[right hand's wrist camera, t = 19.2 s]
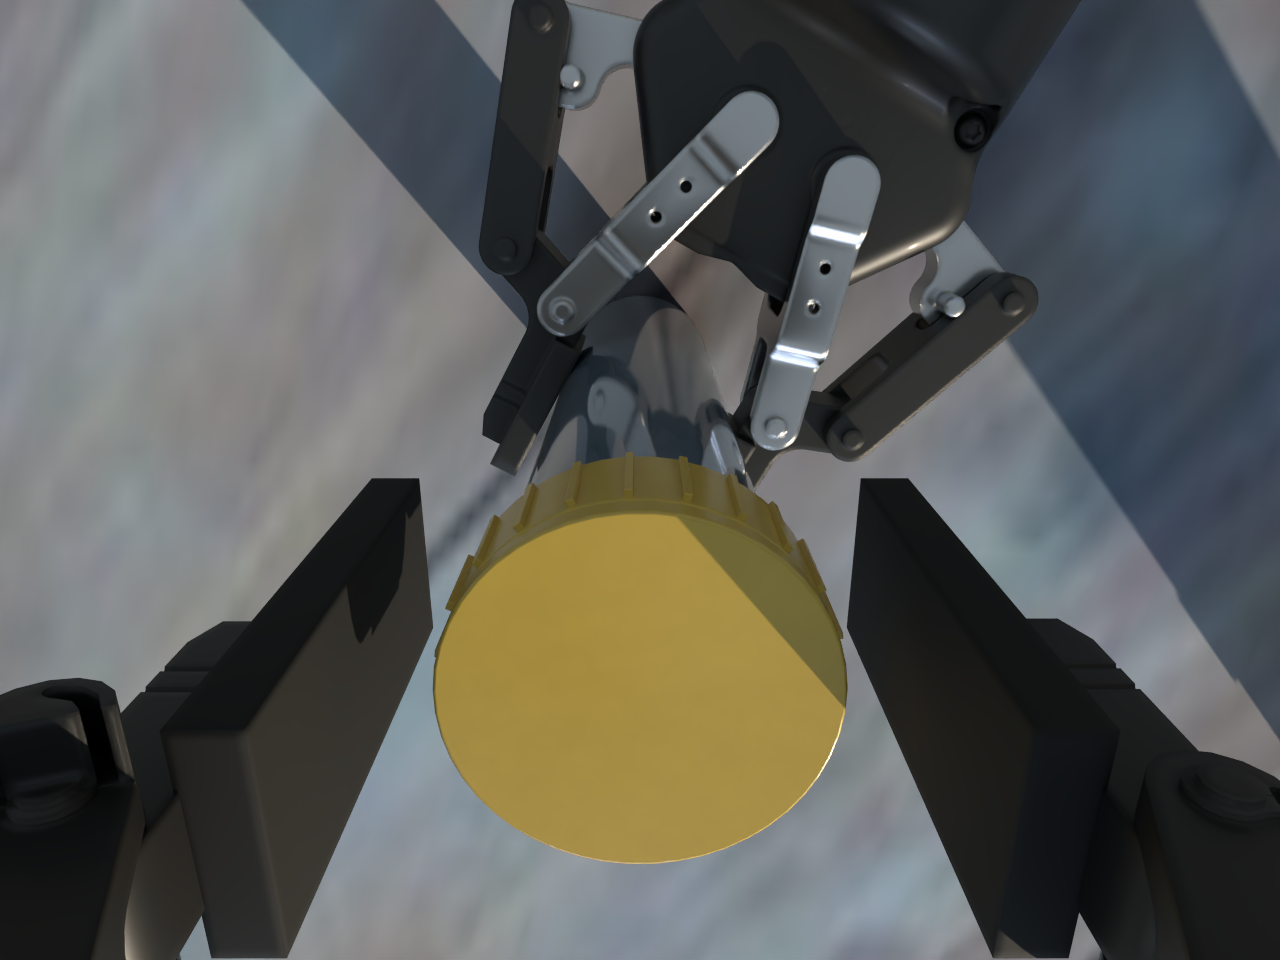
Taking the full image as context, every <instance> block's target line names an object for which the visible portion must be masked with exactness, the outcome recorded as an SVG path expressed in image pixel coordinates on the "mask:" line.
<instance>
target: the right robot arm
mask: <svg viewBox="0 0 1280 960" xmlns="http://www.w3.org/2000/svg"><path fill="white" fill-rule="evenodd" d="M432 629H433V621H432V610H431V600H430V589H429V578H428V568H427V557H426V546H425V536H424V525H423V515H422V504H421V493H420V483H419V478H372V479H371V480H370V481H369V483H368V484H367V485H366V486H365V487H364V488H363V490H362V491H361V492H360V493H359V494H358V496H357V497H356V498H355V499H354V500H353V502H352V503H351V504H350V505H349V506H348V507H347V509H346V510H345V511H344V512H343V513H342V515H341V516H340V517H339V518H338V519H337V521H336V522H335V523H334V524H333V525H332V526H331V528H330V529H329V530H328V531H327V532H326V534H325V535H324V536H323V537H322V538H321V540H320V541H319V542H318V543H317V544H316V545H315V547H314V548H313V549H312V550H311V551H310V553H309V554H308V555H307V556H306V557H305V559H304V560H303V561H302V562H301V563H300V564H299V566H298V567H297V568H296V569H295V570H294V572H293V573H292V574H291V575H290V576H289V578H288V579H287V580H286V581H285V582H284V583H283V585H282V586H281V587H280V588H279V589H278V591H277V592H276V593H275V594H274V595H273V597H272V598H271V599H270V600H269V601H268V602H267V604H266V605H265V606H264V607H263V608H262V610H261V611H260V612H259V613H258V614H257V616H256V617H255V618H254V619H253V620H252V621H223V622H221V623H220V624H218V625H216V626H215V627H213V628H211V629H209V630H208V631H206V632H204V633H203V634H201V635H199V636H197V637H196V638H194V639H192V640H191V641H189V642H187V643H186V645H185V646H184V647H183V648H182V649H181V650H180V651H179V652H178V653H177V654H176V655H175V656H174V657H173V658H172V659H171V661H170V662H169V663H168V664H167V665H166V666H165V670H164V671H160V672H159V673H158V674H157V675H156V676H155V678H154V679H153V680H152V681H151V682H150V683H149V684H148V685H147V686H146V691H145V692H140V694H139V695H138V696H137V697H136V698H135V699H134V700H133V701H132V702H131V703H130V704H129V705H128V706H127V707H126V708H125V710H124V711H123V712H122V713H120V709H119V705H118V701H117V697H116V693H115V690H113V689H112V688H111V687H109V686H108V685H106V684H105V683H103V682H102V681H96V680H89V679H83V678H71V679H60V680H48V681H44V682H40V683H36V684H32V685H29V686H25V687H21V688H17V689H14V690H11V691H9V692H6V693H4V694H2V695H0V960H181V957H180V952H181V950H182V948H183V946H184V945H185V943H186V941H187V939H188V938H189V936H190V934H191V933H192V931H193V929H194V927H195V926H196V924H197V922H198V921H199V919H200V917H201V915H202V919H203V923H204V928H205V932H206V936H207V941H208V945H209V949H210V954H211V958H287V957H288V955H289V952H290V950H291V948H292V945H293V943H294V941H295V939H296V936H297V934H298V932H299V930H300V927H301V925H302V923H303V921H304V918H305V916H306V914H307V912H308V909H309V907H310V905H311V903H312V900H313V898H314V896H315V893H316V891H317V889H318V887H319V884H320V882H321V880H322V878H323V875H324V873H325V871H326V869H327V866H328V864H329V862H330V860H331V857H332V855H333V853H334V851H335V848H336V846H337V844H338V842H339V839H340V837H341V835H342V832H343V830H344V828H345V826H346V823H347V821H348V819H349V817H350V814H351V812H352V810H353V808H354V805H355V803H356V801H357V799H358V796H359V794H360V792H361V790H362V787H363V785H364V783H365V780H366V778H367V776H368V774H369V771H370V769H371V767H372V765H373V762H374V760H375V758H376V756H377V753H378V751H379V749H380V747H381V744H382V742H383V740H384V738H385V735H386V733H387V731H388V729H389V726H390V724H391V722H392V719H393V717H394V715H395V713H396V710H397V708H398V706H399V704H400V701H401V699H402V697H403V695H404V692H405V690H406V688H407V686H408V683H409V681H410V679H411V677H412V674H413V672H414V670H415V667H416V665H417V663H418V661H419V658H420V656H421V654H422V652H423V649H424V647H425V645H426V643H427V640H428V638H429V636H430V634H431V631H432ZM847 629H848V631H849V634H850V636H851V638H852V640H853V643H854V645H855V647H856V649H857V652H858V654H859V656H860V658H861V661H862V663H863V665H864V667H865V670H866V672H867V674H868V677H869V679H870V681H871V683H872V686H873V688H874V690H875V692H876V695H877V697H878V699H879V701H880V704H881V706H882V708H883V710H884V713H885V715H886V717H887V719H888V722H889V724H890V726H891V729H892V731H893V733H894V735H895V738H896V740H897V742H898V744H899V747H900V749H901V751H902V753H903V756H904V758H905V760H906V762H907V765H908V767H909V769H910V771H911V774H912V776H913V778H914V780H915V783H916V785H917V787H918V790H919V792H920V794H921V796H922V799H923V801H924V803H925V805H926V808H927V810H928V812H929V814H930V817H931V819H932V821H933V823H934V826H935V828H936V830H937V832H938V835H939V837H940V839H941V842H942V844H943V846H944V848H945V851H946V853H947V855H948V857H949V860H950V862H951V864H952V866H953V869H954V871H955V873H956V875H957V878H958V880H959V882H960V884H961V887H962V889H963V891H964V893H965V896H966V898H967V900H968V903H969V905H970V907H971V909H972V912H973V914H974V916H975V918H976V921H977V923H978V925H979V927H980V930H981V932H982V934H983V936H984V939H985V941H986V943H987V945H988V948H989V950H990V952H991V955H992V957H993V958H1069V954H1070V949H1071V945H1072V941H1073V936H1074V932H1075V928H1076V923H1077V919H1078V915H1079V913H1080V914H1081V916H1082V918H1083V920H1084V921H1085V923H1086V925H1087V926H1088V928H1089V930H1090V931H1091V933H1092V935H1093V937H1094V938H1095V940H1096V942H1097V943H1098V945H1099V947H1100V949H1101V953H1100V957H1099V960H1280V780H1278V779H1277V778H1276V777H1274V776H1272V775H1270V774H1268V773H1266V772H1264V771H1262V770H1260V769H1257V768H1255V767H1253V766H1251V765H1249V764H1247V763H1245V762H1243V761H1239V760H1236V759H1232V758H1229V757H1225V756H1222V755H1218V754H1215V753H1211V752H1201V751H1198V750H1197V749H1196V748H1195V747H1194V746H1193V745H1192V744H1191V743H1190V741H1189V740H1188V739H1187V738H1186V737H1185V736H1184V735H1183V734H1182V733H1181V732H1180V731H1179V730H1178V729H1177V728H1176V727H1175V726H1174V725H1173V723H1172V722H1171V721H1170V720H1169V719H1168V718H1167V717H1166V716H1165V715H1164V714H1163V713H1162V712H1161V711H1160V710H1159V709H1158V708H1157V707H1156V705H1155V704H1154V703H1153V702H1152V701H1151V700H1150V699H1149V698H1148V697H1147V696H1146V695H1145V694H1144V693H1143V692H1142V691H1141V690H1140V689H1135V683H1134V682H1133V681H1132V680H1131V679H1130V678H1129V677H1128V676H1127V675H1126V674H1125V673H1124V672H1123V671H1122V670H1121V668H1116V663H1115V662H1114V661H1113V660H1112V659H1111V658H1110V657H1109V656H1108V655H1107V654H1106V653H1105V652H1104V650H1103V649H1102V648H1101V647H1100V646H1099V645H1098V644H1097V643H1096V642H1095V641H1094V640H1093V639H1092V638H1090V637H1088V636H1086V635H1085V634H1083V633H1081V632H1079V631H1078V630H1076V629H1074V628H1073V627H1071V626H1069V625H1067V624H1066V623H1064V622H1062V621H1061V620H1059V619H1026V618H1025V617H1024V616H1023V614H1022V613H1021V612H1020V611H1019V610H1018V608H1017V607H1016V606H1015V605H1014V604H1013V602H1012V601H1011V600H1010V599H1009V598H1008V597H1007V595H1006V594H1005V593H1004V592H1003V591H1002V589H1001V588H1000V587H999V586H998V585H997V583H996V582H995V581H994V580H993V579H992V578H991V576H990V575H989V574H988V573H987V572H986V570H985V569H984V568H983V567H982V566H981V564H980V563H979V562H978V561H977V560H976V559H975V557H974V556H973V555H972V554H971V553H970V551H969V550H968V549H967V548H966V547H965V545H964V544H963V543H962V542H961V541H960V540H959V538H958V537H957V536H956V535H955V534H954V532H953V531H952V530H951V529H950V528H949V526H948V525H947V524H946V523H945V522H944V521H943V519H942V518H941V517H940V516H939V515H938V513H937V512H936V511H935V510H934V509H933V507H932V506H931V505H930V504H929V503H928V502H927V500H926V499H925V498H924V497H923V496H922V494H921V493H920V492H919V491H918V490H917V488H916V487H915V486H914V485H913V484H912V483H911V481H910V480H909V479H908V478H861V483H860V493H859V504H858V515H857V525H856V536H855V546H854V557H853V568H852V578H851V589H850V600H849V610H848V621H847Z"/></svg>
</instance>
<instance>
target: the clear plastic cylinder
mask: <svg viewBox="0 0 1280 960" xmlns="http://www.w3.org/2000/svg"><path fill="white" fill-rule="evenodd" d="M582 334H583V335H585V336H586V338H585V342H584V345H583V348H582V351H581V354H580V356H579V358H578V360H577V362H576V364H575V365H574V367H573V369H572V371H571V373H570V375H569V377H568V378H567V380H566V381H565V383H564V385H563V387H562V389H561V391H560V393H559V396H558V399H557V401H556V404H555V407H554V410H553V413H552V416H551V419H550V422H549V425H548V427H547V430H546V433H545V436H544V439H543V442H542V445H541V448H540V451H539V453H538V456H537V459H536V462H535V465H534V468H533V471H532V474H531V477H530V479H529V482H528V485H529V484H531V483H534V484H535V486H537V485H539V484H540V483H542V482H544V481H546V480H548V479H549V478H551V477H553V476H555V475H557V474H559V473H562V472H564V471H567V470H569V469H572V466H573V463H575V462H578V461H581V463H582V465H584V464H588V463H592V462H595V461H599V460H604V459H612V458H620V457H625V453H626V452H634V457H645V456H652V457H660V458H669V459H677V460H678V459H679V456H683V457H687V459H688V462H689V463H693V464H697V465H701V466H703V467H706V468H708V469H711V470H713V471H716V472H719V473H721V474H724V475H725V476H728V475H729V473H732V474H734V475H736V476H737V479H738V482H739V483H740V484H742V485H744V486H745V487H747V488H748V489H749V490H751V491H752V492H753V493H755V491H754V488H753V485H752V482H751V479H750V476H749V473H748V470H747V468H746V465H745V462H744V459H743V456H742V453H741V450H740V447H739V444H738V442H737V439H736V436H735V433H734V430H733V427H732V424H731V421H730V418H729V416H728V413H727V410H726V407H725V404H724V401H723V398H722V395H721V392H720V390H719V387H718V384H717V381H716V378H715V375H714V372H713V369H712V366H711V364H710V361H709V358H708V355H707V352H706V349H705V346H704V343H703V340H702V338H701V335H700V333H699V331H698V329H697V327H696V326H695V324H694V323H693V321H692V320H691V319H690V318H689V317H688V316H687V314H685V313H684V312H683V311H682V310H681V309H679V308H678V307H676V306H675V305H673V304H671V303H669V302H667V301H665V300H662V299H659V298H656V297H651V296H629V297H625V298H621V299H618V300H615V301H613V302H611V303H609V304H607V305H605V306H604V307H603V308H602V309H601V310H600V311H599V312H598V313H597V314H596V315H595V316H594V317H593V318H592V319H591V320H590V321H589V322H588V324H587V326H586V327H585V329H584V331H583V333H582ZM528 485H527V486H528Z"/></svg>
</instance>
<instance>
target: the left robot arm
mask: <svg viewBox="0 0 1280 960" xmlns="http://www.w3.org/2000/svg"><path fill="white" fill-rule="evenodd" d="M1080 1H1081V0H662V1H661V2H659V3H658V4H657V5H655V6H654V7H653V8H652V9H651V10H650V11H649V12H648V14H647V15H646V16H645V18H644V19H643V20H640V19H636V18H632V17H627V16H623V15H619V14H615V13H610V12H606V11H602V10H598V9H593V8H589V7H585V6H580V5H576V4H572V3H568V2H567V1H565V0H515V1H514V3H513V6H512V10H511V18H510V25H509V32H508V39H507V46H506V54H505V61H504V68H503V75H502V82H501V89H500V97H499V104H498V111H497V118H496V125H495V133H494V140H493V147H492V154H491V161H490V168H489V176H488V183H487V190H486V197H485V204H484V212H483V219H482V226H481V233H480V240H479V252H480V256H481V258H482V260H483V262H484V263H485V265H486V266H487V267H488V268H489V269H490V270H492V271H493V272H495V273H497V274H501V275H503V276H504V278H505V279H506V280H507V281H508V282H509V283H510V284H511V285H512V286H513V287H514V289H515V290H516V291H517V292H518V293H519V294H520V295H521V297H522V298H523V299H524V301H525V303H526V306H527V308H528V313H529V323H528V327H527V330H526V332H525V334H524V336H523V338H522V340H521V342H520V344H519V346H518V348H517V350H516V352H515V354H514V356H513V358H512V360H511V362H510V364H509V366H508V368H507V370H506V372H505V374H504V376H503V378H502V380H501V382H500V383H499V385H498V387H497V389H496V391H495V393H494V395H493V397H492V399H491V401H490V403H489V405H488V407H487V409H486V411H485V413H484V418H483V433H482V435H483V436H485V437H487V438H489V439H491V440H493V441H495V442H497V443H499V444H500V445H499V447H498V449H497V451H496V453H495V455H494V457H493V459H492V461H491V463H490V464H491V465H493V466H495V467H497V468H499V469H501V470H503V471H505V472H507V473H509V474H511V475H513V476H515V475H516V473H517V471H518V470H519V468H520V466H521V464H522V462H523V460H524V459H525V457H526V455H527V453H528V451H529V449H530V447H531V445H532V444H533V442H534V440H535V438H536V436H537V434H538V432H539V431H540V429H541V427H542V425H543V423H544V421H545V419H546V418H547V416H548V414H549V412H550V410H551V408H552V406H553V405H554V403H555V401H556V399H557V397H558V395H559V393H560V391H561V389H562V387H563V385H564V383H565V381H566V380H567V378H568V377H569V375H570V373H571V371H572V369H573V367H574V365H575V364H576V362H577V360H578V358H579V356H580V354H581V351H582V348H583V345H584V342H585V338H586V336H585V335H583V334H582V333H583V331H584V329H585V327H586V326H587V324H588V322H589V321H590V320H591V319H592V318H593V317H594V316H595V315H596V314H597V313H598V312H599V311H600V310H601V309H602V308H603V307H604V306H605V305H606V304H607V303H608V302H609V301H610V300H611V299H612V298H613V297H614V296H615V295H616V294H617V293H618V292H619V291H620V290H621V289H622V288H623V287H624V286H625V285H626V284H627V283H628V282H629V281H630V280H631V279H632V278H633V277H635V276H636V275H637V274H639V273H640V272H641V271H642V270H643V269H644V268H645V267H646V266H647V265H648V264H649V263H650V262H651V261H652V260H653V259H654V258H655V257H656V256H657V255H658V254H659V253H660V252H661V251H662V250H663V249H664V248H665V247H666V246H667V245H668V244H669V243H670V242H671V241H672V240H673V239H674V240H676V241H677V242H679V243H681V244H683V245H684V246H686V247H688V248H690V249H691V250H693V251H695V252H697V253H699V254H702V255H706V256H710V257H714V258H718V259H722V260H726V261H729V262H732V263H733V264H735V265H736V266H737V267H738V268H739V270H740V271H741V272H742V273H743V274H744V275H745V276H746V277H747V278H748V279H749V280H750V281H751V282H752V283H753V284H754V285H755V286H756V287H757V288H759V289H761V290H762V291H764V292H765V295H764V299H763V302H762V306H761V310H760V314H759V318H758V324H757V336H756V341H755V345H754V349H753V352H752V356H751V360H750V364H749V367H748V371H747V375H746V379H745V382H744V386H743V390H742V394H741V398H740V405H739V407H738V408H737V410H736V412H735V413H734V415H732V414H730V413H728V412H727V413H728V416H729V418H730V421H731V424H732V427H733V430H734V433H735V436H736V439H737V442H738V444H739V447H740V450H741V453H742V456H743V459H744V462H745V465H746V468H747V470H748V473H749V476H750V479H751V482H752V485H753V488H754V491H756V489H757V487H758V486H759V484H760V483H761V481H762V480H763V478H764V477H765V475H766V473H767V472H768V470H769V469H770V467H771V466H772V464H773V463H774V461H775V460H776V459H777V458H778V457H780V456H781V455H782V454H784V453H786V452H789V451H791V450H796V449H806V450H812V451H819V452H826V453H832V454H833V455H834V456H835V457H836V458H838V459H839V460H842V461H847V462H852V461H857V460H860V459H862V458H864V457H865V456H867V455H868V454H869V453H870V452H872V451H873V450H874V449H875V448H876V447H878V446H879V445H880V444H881V443H882V442H883V441H885V440H886V439H887V438H888V437H889V436H891V435H892V434H893V433H894V432H895V431H897V430H898V429H899V428H900V427H901V426H903V425H904V424H905V423H906V422H907V421H909V420H910V419H911V418H912V417H913V416H915V415H916V414H917V413H918V412H919V411H921V410H922V409H923V408H924V407H925V406H926V405H928V404H929V403H930V402H931V401H932V400H934V399H935V398H936V397H937V396H938V395H940V394H941V393H942V392H943V391H944V390H946V389H947V388H948V387H949V386H950V385H952V384H953V383H954V382H955V381H956V380H958V379H959V378H960V377H961V376H962V375H963V374H965V373H966V372H967V371H968V370H969V369H971V368H972V367H973V366H974V365H975V364H977V363H978V362H979V361H980V360H981V359H983V358H984V357H985V356H986V355H987V354H989V353H990V352H991V351H992V350H993V349H995V348H996V347H997V346H998V345H999V344H1001V343H1002V342H1003V341H1004V340H1005V339H1006V338H1008V337H1009V336H1010V335H1011V334H1012V333H1014V332H1015V331H1016V330H1017V329H1018V328H1020V327H1021V326H1022V325H1023V324H1024V323H1026V322H1027V321H1028V320H1029V319H1030V318H1031V317H1032V315H1033V314H1034V312H1035V310H1036V308H1037V305H1038V292H1037V289H1036V287H1035V285H1034V284H1033V283H1032V282H1031V281H1030V280H1028V279H1027V278H1024V277H1021V276H1018V275H1015V274H1011V273H1008V272H1006V271H1004V270H1003V269H1002V268H1001V266H1000V265H999V264H998V263H997V261H996V260H995V259H994V257H993V256H992V255H991V254H990V252H989V251H988V250H987V249H986V247H985V246H984V245H983V244H982V242H981V241H980V240H979V239H978V237H977V236H976V235H975V234H974V232H973V231H972V230H971V229H970V227H969V226H968V225H967V224H966V222H965V221H964V218H965V216H966V214H967V212H968V209H969V206H970V201H971V192H972V183H973V178H974V174H975V170H976V167H977V164H978V161H979V158H980V156H981V154H982V152H983V150H984V148H985V147H986V145H987V144H988V142H989V141H990V139H991V138H992V136H993V135H994V134H995V132H996V131H997V129H998V128H999V127H1000V125H1001V124H1002V122H1003V121H1004V119H1005V118H1006V116H1007V115H1008V113H1009V112H1010V110H1011V109H1012V107H1013V106H1014V104H1015V102H1016V101H1017V99H1018V98H1019V96H1020V95H1021V93H1022V92H1023V90H1024V88H1025V87H1026V85H1027V84H1028V82H1029V81H1030V79H1031V78H1032V76H1033V74H1034V73H1035V71H1036V70H1037V68H1038V67H1039V65H1040V64H1041V62H1042V60H1043V59H1044V57H1045V56H1046V54H1047V53H1048V51H1049V49H1050V48H1051V46H1052V45H1053V43H1054V42H1055V40H1056V39H1057V37H1058V35H1059V34H1060V32H1061V31H1062V29H1063V28H1064V26H1065V25H1066V23H1067V22H1068V20H1069V18H1070V17H1071V15H1072V14H1073V12H1074V11H1075V9H1076V8H1077V6H1078V5H1079V3H1080ZM623 68H631V69H634V75H635V84H636V93H637V102H638V111H639V120H640V129H641V137H642V146H643V155H644V164H645V173H646V183H645V184H644V185H643V186H642V187H641V188H640V189H639V190H638V191H637V192H636V193H635V194H634V195H633V196H632V197H631V198H630V199H629V201H628V202H627V203H626V204H625V205H624V206H623V207H622V208H621V209H620V210H619V211H618V212H617V213H616V214H615V215H614V216H613V217H612V218H611V219H610V220H609V221H608V222H607V223H606V225H605V226H604V227H603V228H602V229H601V230H600V231H599V232H598V233H597V234H596V235H595V236H594V237H593V238H592V239H591V240H590V241H589V243H588V244H587V245H586V246H585V247H584V248H583V249H582V250H581V251H580V252H579V253H578V254H577V255H576V256H575V257H574V258H573V259H572V260H571V261H570V262H569V261H568V260H567V259H566V258H565V257H564V256H563V254H562V253H561V252H560V251H559V250H558V249H557V248H556V246H555V245H554V244H553V243H552V242H551V241H550V240H549V238H548V237H547V236H546V235H545V228H546V222H547V216H548V210H549V204H550V197H551V191H552V185H553V179H554V173H555V167H556V161H557V155H558V149H559V142H560V136H561V130H562V124H563V118H564V112H565V109H567V110H572V111H580V110H584V109H586V108H588V107H590V106H591V105H592V104H593V103H594V102H595V101H596V99H597V98H598V96H599V93H600V90H601V87H602V85H603V83H604V81H605V80H606V78H607V77H608V76H609V75H610V74H611V73H613V72H614V71H616V70H619V69H623ZM653 212H654V214H652V213H653ZM924 251H925V254H926V266H925V270H924V272H923V274H922V275H921V277H920V278H919V279H918V280H917V282H916V283H915V284H914V286H913V287H912V290H911V292H910V298H909V301H910V307H911V309H912V311H913V313H912V314H910V315H909V316H908V317H907V318H906V319H905V320H904V321H902V322H901V323H900V324H899V325H898V326H897V327H896V328H894V329H893V330H892V331H891V332H890V333H889V334H888V335H886V336H885V337H884V338H883V339H882V340H881V341H880V342H878V343H877V344H876V345H875V346H874V347H873V348H872V349H870V350H869V351H868V352H867V353H866V354H865V355H864V356H862V357H861V358H860V359H859V360H858V361H857V362H856V363H854V364H853V365H852V366H851V367H850V368H849V369H848V370H846V371H845V372H844V373H843V374H842V375H841V376H840V377H838V378H837V379H836V380H835V381H834V382H833V383H831V384H830V385H829V386H828V387H827V388H826V389H825V390H823V391H822V392H818V391H811V390H812V387H813V383H814V380H815V377H816V373H817V370H818V368H819V366H820V365H821V364H822V363H823V362H824V360H825V358H826V356H827V354H828V351H829V348H830V345H831V342H832V338H833V335H834V332H835V328H836V325H837V322H838V318H839V315H840V311H841V308H842V305H843V301H844V298H845V295H846V291H847V288H848V286H850V285H852V284H854V283H856V282H858V281H861V280H863V279H865V278H867V277H869V276H871V275H874V274H876V273H878V272H880V271H882V270H885V269H887V268H889V267H891V266H893V265H895V264H898V263H900V262H902V261H904V260H906V259H909V258H911V257H913V256H915V255H917V254H919V253H922V252H924ZM814 303H815V308H814V309H813V304H814Z"/></svg>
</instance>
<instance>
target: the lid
mask: <svg viewBox="0 0 1280 960" xmlns="http://www.w3.org/2000/svg"><path fill="white" fill-rule="evenodd" d="M825 591H826V588H825V586H824V583H823V581H822V579H821V576H820V574H819V572H818V570H817V567H816V565H815V563H814V560H813V558H812V556H811V553H810V551H809V549H808V546H807V544H806V542H805V541H804V539H801V540H799V541H797V539H796V537H795V535H794V534H793V532H792V531H791V530H790V528H789V527H788V526H787V525H786V523H785V522H784V521H783V519H782V516H781V514H780V511H779V509H778V506H777V505H776V504H775V503H774V502H773V501H772V502H771V503H770V504H767V503H766V502H765V501H764V500H763V499H761V498H760V497H759V496H757V495H756V494H755V493H753V492H752V491H751V490H749V489H748V488H747V487H745V486H744V485H742V484H740V483H739V482H738V479H737V476H736V475H734V474H732V473H729V475H728V476H725V475H724V474H721V473H719V472H716V471H713V470H711V469H708V468H706V467H703V466H701V465H697V464H693V463H689V462H688V459H687V457H683V456H679V459H678V460H677V459H669V458H660V457H652V456H645V457H634V452H626V453H625V457H620V458H612V459H604V460H599V461H595V462H592V463H588V464H584V465H582V463H581V461H578V462H575V463H573V466H572V469H569V470H567V471H564V472H562V473H559V474H557V475H555V476H553V477H551V478H549V479H548V480H546V481H544V482H542V483H540V484H539V485H537V486H535V484H534V483H531V484H529V485H528V486H527V487H526V490H525V493H524V495H523V496H522V497H520V498H519V499H518V500H516V501H515V502H514V503H513V504H512V505H511V506H510V507H509V508H508V509H507V510H506V511H505V512H504V513H503V514H502V515H501V516H500V517H499V518H498V517H497V516H496V515H494V516H493V517H492V518H491V519H490V521H489V524H488V526H487V529H486V531H485V533H484V536H483V538H482V541H481V543H480V545H479V548H478V550H477V552H476V554H475V556H474V557H473V556H471V555H468V557H467V559H466V562H465V564H464V566H463V568H462V571H461V573H460V575H459V578H458V580H457V582H456V585H455V587H454V589H453V591H452V594H451V596H450V598H449V601H448V603H447V605H446V608H445V609H447V610H449V611H451V613H450V616H449V618H448V620H447V623H446V625H445V628H444V630H443V632H442V635H441V637H440V640H439V642H438V644H437V647H436V649H435V657H436V660H435V665H434V678H433V696H434V706H435V714H436V718H437V722H438V726H439V730H440V733H441V737H442V739H443V742H444V744H445V746H446V749H447V751H448V753H449V756H450V758H451V760H452V761H453V763H454V765H455V766H456V768H457V770H458V771H459V773H460V775H461V776H462V778H463V779H464V780H465V782H466V783H467V784H468V785H469V787H470V788H471V789H472V790H473V792H474V793H475V794H476V795H477V797H478V798H480V799H481V800H482V801H483V802H484V803H485V804H486V805H487V806H488V807H489V808H490V809H491V810H492V811H493V812H494V813H495V814H497V815H498V816H499V817H501V818H502V819H503V820H505V821H506V822H507V823H509V824H510V825H511V826H513V827H514V828H516V829H518V830H519V831H521V832H523V833H525V834H526V835H528V836H530V837H531V838H533V839H535V840H537V841H540V842H542V843H544V844H546V845H549V846H551V847H553V848H555V849H558V850H561V851H565V852H568V853H571V854H574V855H577V856H581V857H586V858H590V859H595V860H600V861H606V862H616V863H626V864H655V863H664V862H674V861H681V860H685V859H690V858H695V857H699V856H703V855H707V854H710V853H713V852H716V851H719V850H722V849H725V848H727V847H730V846H732V845H734V844H736V843H738V842H741V841H743V840H745V839H747V838H749V837H751V836H752V835H754V834H756V833H758V832H759V831H761V830H763V829H764V828H766V827H768V826H769V825H770V824H772V823H773V822H774V821H776V820H777V819H778V818H780V817H781V816H782V815H784V814H785V813H786V812H787V811H789V810H790V809H791V808H792V807H793V806H794V805H795V804H796V803H797V802H798V801H799V800H800V799H801V798H802V797H803V796H804V795H805V794H806V792H807V791H808V790H809V788H810V787H811V786H812V785H813V783H814V782H815V781H816V780H817V778H818V777H819V775H820V774H821V772H822V770H823V769H824V767H825V765H826V764H827V762H828V760H829V758H830V757H831V754H832V752H833V750H834V747H835V745H836V742H837V740H838V737H839V735H840V731H841V727H842V723H843V719H844V715H845V710H846V699H847V672H846V663H845V658H844V654H843V649H842V644H841V641H840V639H843V633H842V630H841V627H840V625H839V623H838V620H837V618H836V616H835V613H834V611H833V609H832V606H831V604H830V602H829V599H828V597H827V595H826V592H825Z"/></svg>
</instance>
